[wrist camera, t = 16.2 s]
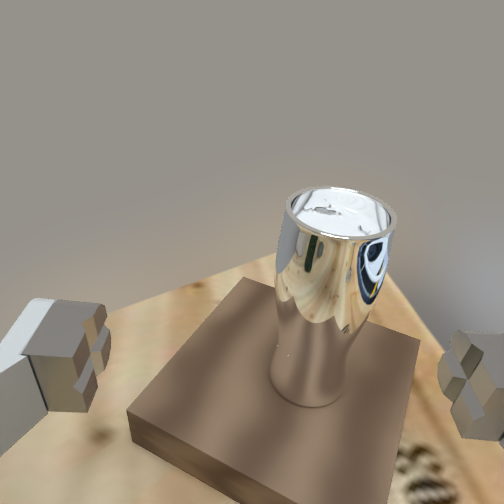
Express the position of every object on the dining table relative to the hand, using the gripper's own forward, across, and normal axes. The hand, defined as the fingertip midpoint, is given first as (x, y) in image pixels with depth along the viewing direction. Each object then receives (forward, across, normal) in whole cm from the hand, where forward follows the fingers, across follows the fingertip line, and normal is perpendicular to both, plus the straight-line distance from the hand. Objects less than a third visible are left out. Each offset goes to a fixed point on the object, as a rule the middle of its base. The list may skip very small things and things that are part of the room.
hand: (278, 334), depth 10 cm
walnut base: (+14, -4, +23) cm, 28 cm away
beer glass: (+14, -5, +19) cm, 24 cm away
